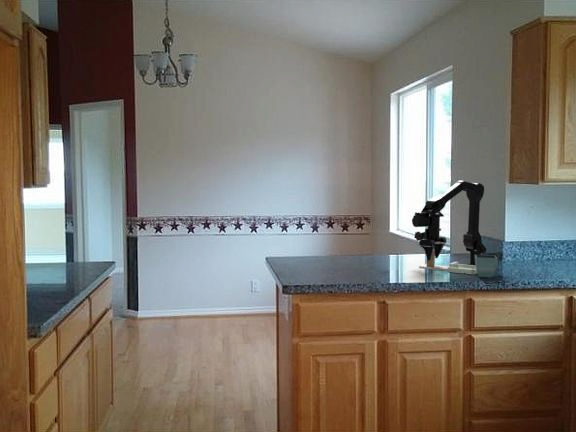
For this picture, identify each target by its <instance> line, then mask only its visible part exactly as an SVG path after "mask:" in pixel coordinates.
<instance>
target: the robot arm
mask: <svg viewBox="0 0 576 432" xmlns="http://www.w3.org/2000/svg"><path fill="white" fill-rule="evenodd" d="M463 191H464V192H466V193H465V194H466V197H467V199H468V203H469V204H468V224H467V225H468V226H467V231H466V233H464V234H463V235H462V237H463V238H462V239H463V240H462V243H463V246H464V247H465V250H466V251H465V252H469V262H467V263H466V265H475V255H483V254H486V252H487V247H486V246H485V245H484V244H483V240H482V238H483V237H482V236H481V233H480V232H479V231H480V230H479V229H480V206H481V201H482V200H483V197H484V193H485V186H484V185H483V184H482V183H480V182H479V183H478V182H468V181H465V180H457V181H456V182H455V183H454V184H453V185H451V186H450V187H449V188H447V189H446V190H445V191H443V192H442V193H441V194H439V195H437V196H434V197H432V198H430V199H427V200H426V202H425V205H424V207H423V208H422V210H421V211H420V212H419V211H417V212H414V214H413V216H412V219H411V222H412V223H411V224H412V226H413V227H414V228H425V227H426V228H425V229H424V231H423V232H420V231H416V232H415V231H414V237H413V238H414V239H415V240H416V242H418V245H419V246H420V248H422V249H423V250H424V253H425V257H426V261H427V260H428V261H430V259H431V256H432V253H433V251H435V259H439V256H440V254H441V252H442V251H443V248H444V247H445V245H446V243H447V237H445V236H441V235H440V232H441V231H442V228H441V227H440V223H441V217H442V218H443V217H444V216H445V215H444V214H443V213H442V210H443V209H444V208H445V207H446V205H447V203H448V202H449V201H451V200H452V199H453V198H454V197H456V196H457V195H458V194H460V193H461V192H463ZM475 266H476V265H475Z"/></svg>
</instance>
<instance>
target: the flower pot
mask: <svg viewBox="0 0 576 432" xmlns="http://www.w3.org/2000/svg"><path fill="white" fill-rule="evenodd" d="M498 259H499V258H498V257H497V256H496V255H492V254H490V255H489V254H482V255H475V266H476V270H477V273H476V274H477V275H478V277H479V278H489V279H491V278H492V277H494V275H495V273H496V270H497V265H498Z"/></svg>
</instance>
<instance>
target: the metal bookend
mask: <svg viewBox="0 0 576 432" xmlns="http://www.w3.org/2000/svg"><path fill="white" fill-rule="evenodd" d="M435 259H436V258H435V251H434V250H433V253H432V256H431V259H430V261H428V260H427V259H426V263H424V264H421V265H419V266H418V268H419V269H426V270H435V271H443V270H444V271H443V272H445V271H446V272H448V267H452V268H457V267H458V264H459V261H453V262H451V263H449V265H440V264H439V265H438V264H436V263H435V262H436V260H435Z"/></svg>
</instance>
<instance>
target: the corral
mask: <svg viewBox="0 0 576 432" xmlns="http://www.w3.org/2000/svg"><path fill="white" fill-rule="evenodd" d="M458 267H462V268H472V269H462V268H452V267H448V271H447V272H448V273H456V274H464V273H465V274H466V275H467V274H468V275H476V274H478V273H477V270H476V265H467V264H464V263H463V264H462V263H458Z"/></svg>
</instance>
